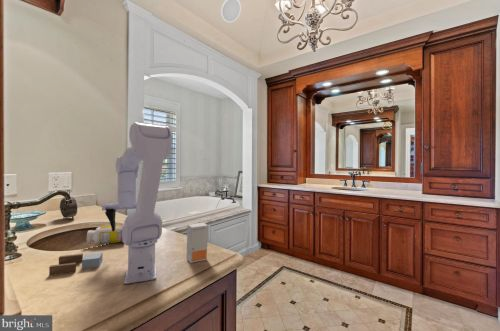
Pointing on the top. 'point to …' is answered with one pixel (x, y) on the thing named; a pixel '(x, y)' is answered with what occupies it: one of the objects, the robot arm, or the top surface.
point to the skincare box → (197, 242)
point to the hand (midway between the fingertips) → (126, 229)
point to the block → (92, 260)
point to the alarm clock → (68, 208)
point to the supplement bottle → (105, 235)
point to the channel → (66, 264)
